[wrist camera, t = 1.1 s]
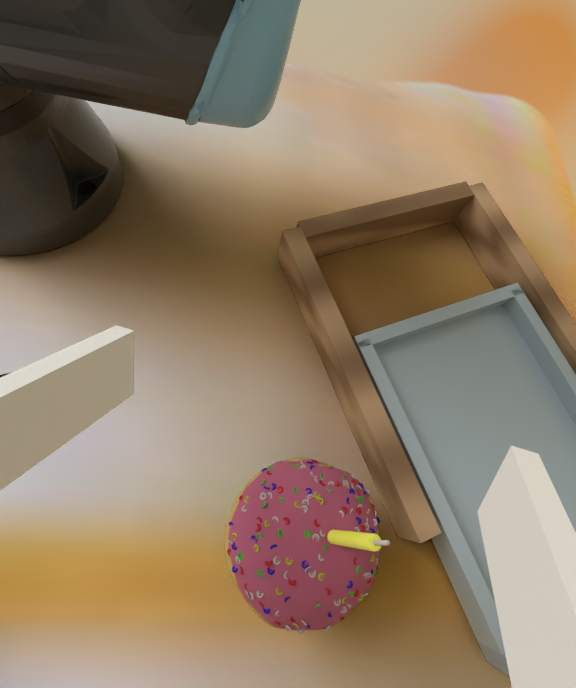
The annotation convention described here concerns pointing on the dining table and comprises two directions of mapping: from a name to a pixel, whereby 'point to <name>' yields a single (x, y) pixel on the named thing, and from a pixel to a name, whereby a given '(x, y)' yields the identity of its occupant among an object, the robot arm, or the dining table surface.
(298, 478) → the cupcake
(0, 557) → the dining table surface
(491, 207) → the dock
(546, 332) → the tray
